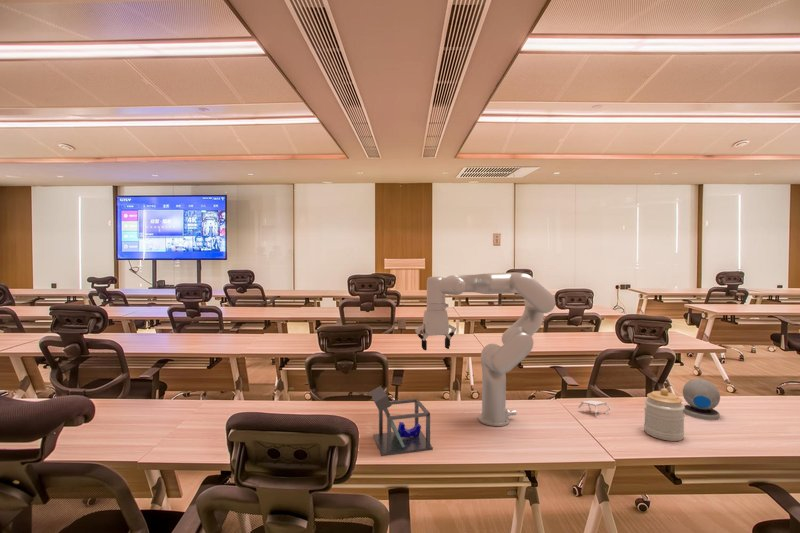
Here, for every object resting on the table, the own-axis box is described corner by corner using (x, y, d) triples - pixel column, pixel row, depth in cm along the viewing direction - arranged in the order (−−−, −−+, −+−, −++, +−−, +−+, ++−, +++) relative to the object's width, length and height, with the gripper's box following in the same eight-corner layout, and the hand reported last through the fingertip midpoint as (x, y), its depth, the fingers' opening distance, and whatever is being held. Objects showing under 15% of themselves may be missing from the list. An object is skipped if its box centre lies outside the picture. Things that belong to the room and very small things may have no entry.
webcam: (717, 412, 177) (718, 378, 177) (721, 422, 167) (722, 386, 166) (681, 406, 184) (682, 373, 184) (683, 415, 173) (683, 380, 173)
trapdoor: (390, 435, 153) (400, 429, 154) (398, 450, 141) (409, 443, 142) (369, 391, 151) (380, 385, 152) (375, 402, 139) (387, 396, 140)
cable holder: (399, 437, 148) (402, 426, 147) (397, 432, 151) (399, 422, 151) (420, 438, 150) (422, 428, 150) (417, 434, 153) (419, 423, 153)
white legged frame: (589, 418, 170) (589, 407, 170) (577, 411, 179) (577, 400, 179) (615, 416, 173) (615, 405, 172) (602, 409, 181) (602, 398, 181)
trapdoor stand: (419, 431, 158) (419, 398, 158) (432, 449, 143) (433, 413, 142) (373, 436, 153) (373, 402, 153) (381, 456, 138) (381, 418, 138)
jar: (689, 444, 147) (690, 395, 147) (649, 439, 151) (650, 392, 151) (677, 429, 160) (677, 384, 159) (639, 425, 164) (640, 381, 163)
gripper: (452, 305, 171) (452, 345, 171) (412, 306, 166) (412, 348, 167) (459, 307, 163) (459, 349, 164) (418, 309, 159) (418, 352, 159)
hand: (435, 349), depth 165 cm, fingers open, 9 cm apart
